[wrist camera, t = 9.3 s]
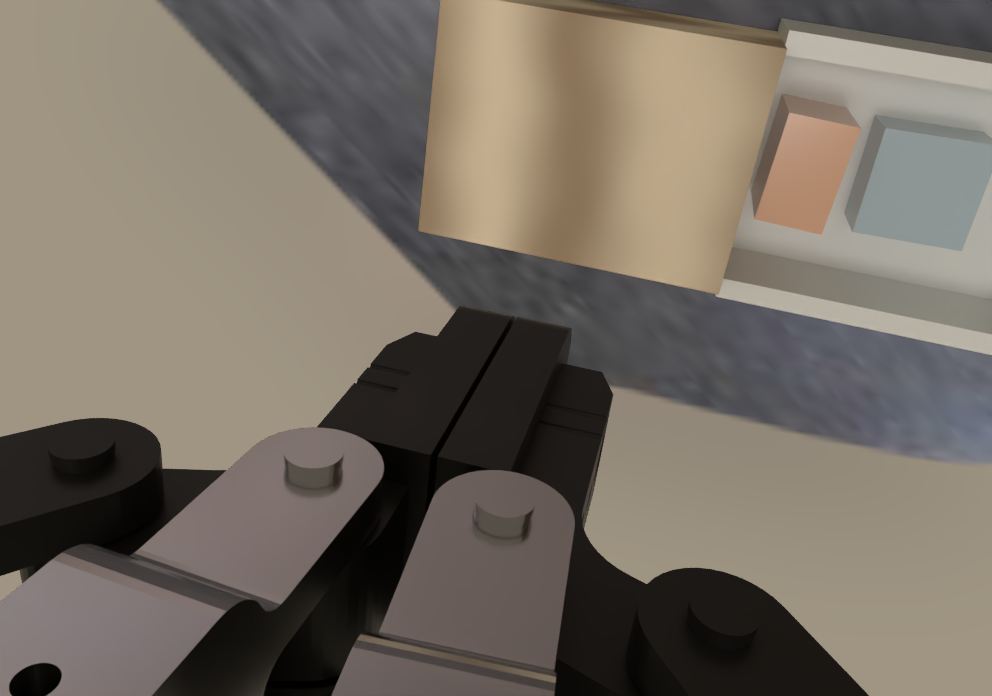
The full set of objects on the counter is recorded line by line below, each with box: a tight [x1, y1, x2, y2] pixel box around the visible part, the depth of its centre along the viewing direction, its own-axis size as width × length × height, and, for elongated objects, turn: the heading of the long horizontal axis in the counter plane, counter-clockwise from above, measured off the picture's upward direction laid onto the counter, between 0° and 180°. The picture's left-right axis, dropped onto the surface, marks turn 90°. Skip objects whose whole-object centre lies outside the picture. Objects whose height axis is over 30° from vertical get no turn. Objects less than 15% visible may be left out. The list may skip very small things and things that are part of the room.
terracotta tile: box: [751, 93, 861, 235], centre depth 33 cm, size 4×4×2 cm
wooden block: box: [418, 0, 787, 294], centre depth 34 cm, size 12×9×6 cm
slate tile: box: [844, 115, 992, 251], centre depth 33 cm, size 4×4×2 cm
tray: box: [716, 18, 992, 355], centre depth 33 cm, size 12×10×4 cm
